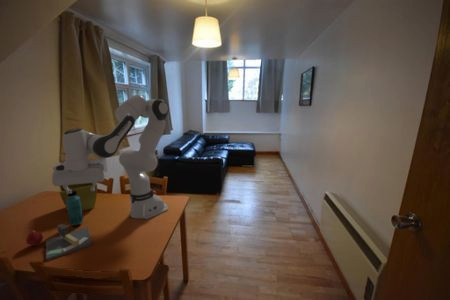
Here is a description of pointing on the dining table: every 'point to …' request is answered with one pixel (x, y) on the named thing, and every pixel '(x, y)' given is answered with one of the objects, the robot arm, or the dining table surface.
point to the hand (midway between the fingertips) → (81, 192)
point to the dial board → (67, 244)
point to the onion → (34, 238)
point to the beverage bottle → (74, 209)
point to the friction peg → (67, 235)
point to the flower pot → (81, 194)
